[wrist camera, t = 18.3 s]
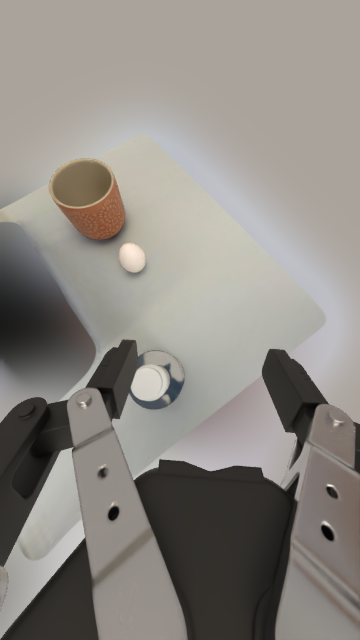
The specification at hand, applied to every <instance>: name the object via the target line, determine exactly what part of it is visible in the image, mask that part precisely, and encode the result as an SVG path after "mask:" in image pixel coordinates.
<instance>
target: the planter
mask: <svg viewBox="0 0 360 640" xmlns="http://www.w3.org/2000/svg"><path fill="white" fill-rule="evenodd" d="M49 191H50V194H51V196H52V198H53V200H54V201H55V203H56V204H57V206H58V207H59V208H60V209H61V211H62V212H63V213H64V214H65V216H66V217H67V218H68V219H69V220H70V222H71V223H72V224H73V225H74V227H75V228H76V229H77V230H78V231H79V232H80V233H82V234H83V235H85V236H86V237H89V238H92V239H96V240H103V239H108V238H110V237H112V236H114V235H116V234H117V233H118V232H119V231H120V230H121V228H122V226H123V224H124V221H125V210H124V206H123V202H122V199H121V196H120V192H119V189H118V186H117V182H116V179H115V177H114V174H113V173H112V171H111V169H110V168H109V167H108V166H107V165H106V164H105V163H103V162H101V161H99V160H95V159H89V158H87V159H86V158H83V159H76V160H73V161H70V162H68V163H66V164H64V165H62V166H61V167H60V168H58V169H57V170H56V171H55V173H54V174H53V176H52V177H51V180H50V183H49Z"/></svg>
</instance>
